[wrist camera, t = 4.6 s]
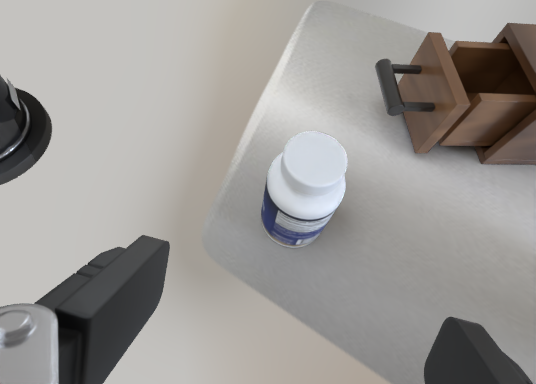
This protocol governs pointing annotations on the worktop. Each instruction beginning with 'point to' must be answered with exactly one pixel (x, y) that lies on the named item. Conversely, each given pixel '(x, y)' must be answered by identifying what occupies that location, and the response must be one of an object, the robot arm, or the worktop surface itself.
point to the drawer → (457, 93)
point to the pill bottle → (303, 188)
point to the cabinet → (532, 127)
